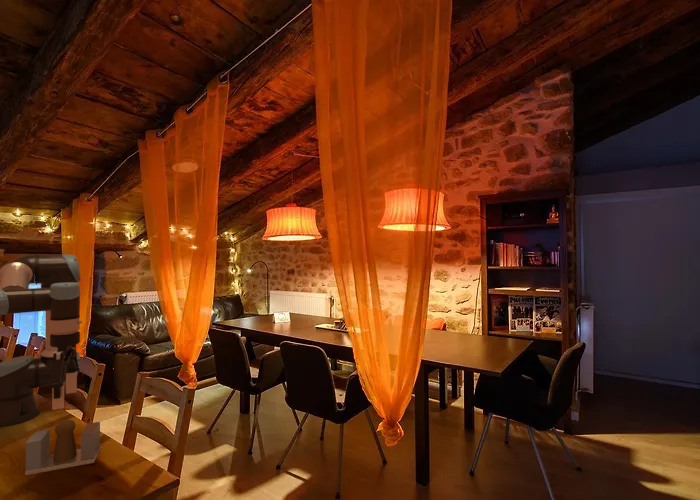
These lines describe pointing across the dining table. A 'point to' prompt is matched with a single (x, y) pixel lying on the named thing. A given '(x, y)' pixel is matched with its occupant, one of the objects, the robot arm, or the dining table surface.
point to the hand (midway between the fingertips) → (65, 400)
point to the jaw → (37, 449)
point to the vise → (84, 455)
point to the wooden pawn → (65, 442)
